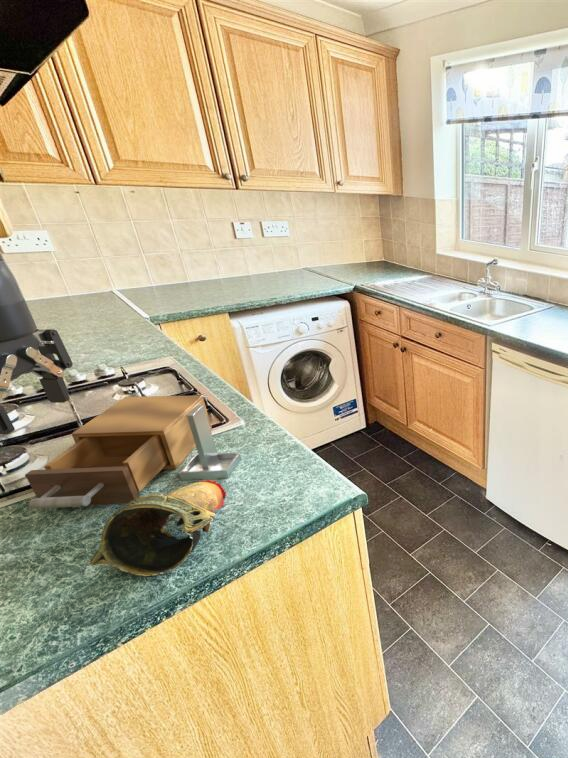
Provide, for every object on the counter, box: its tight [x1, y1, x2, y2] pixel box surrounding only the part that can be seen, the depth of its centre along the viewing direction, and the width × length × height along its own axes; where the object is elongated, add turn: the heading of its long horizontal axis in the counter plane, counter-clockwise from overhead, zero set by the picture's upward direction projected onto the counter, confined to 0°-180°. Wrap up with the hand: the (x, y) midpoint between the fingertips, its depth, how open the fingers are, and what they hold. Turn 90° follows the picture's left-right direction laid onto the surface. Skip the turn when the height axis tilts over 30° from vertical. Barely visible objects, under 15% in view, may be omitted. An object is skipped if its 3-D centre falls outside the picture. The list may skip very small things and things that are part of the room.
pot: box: [88, 479, 227, 577], centre depth 64 cm, size 17×11×18 cm
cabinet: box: [71, 394, 213, 470], centre depth 84 cm, size 15×15×9 cm
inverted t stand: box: [178, 405, 242, 481], centre depth 78 cm, size 8×6×13 cm
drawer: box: [24, 435, 169, 510], centre depth 72 cm, size 18×13×7 cm
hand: (33, 416), depth 57 cm, fingers open, 8 cm apart
